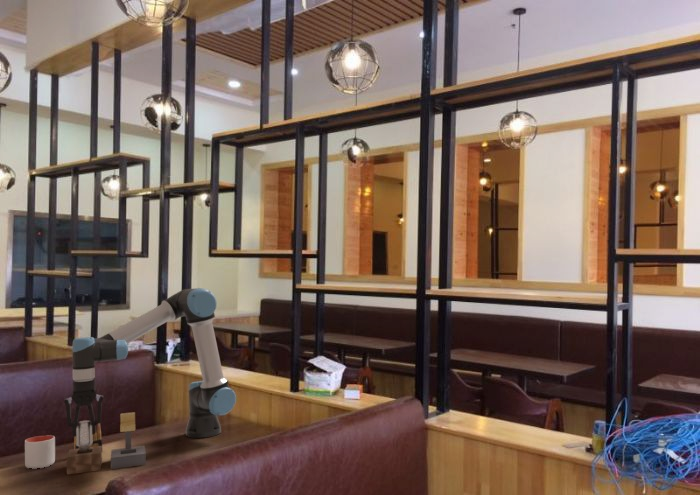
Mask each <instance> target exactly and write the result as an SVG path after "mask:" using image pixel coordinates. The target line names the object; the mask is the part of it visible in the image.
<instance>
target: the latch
mask: <svg viewBox="0 0 700 495" xmlns="http://www.w3.org/2000/svg"><path fill="white" fill-rule="evenodd" d="M119 416H120V417H119V419H120V426H119V427H120V429H119V431H120V433H125V432H126V431H131V432H132V431H133V432H134V431H136V412H133V411H132V412H125V413H120V415H119Z"/></svg>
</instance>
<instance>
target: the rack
mask: <svg viewBox="0 0 700 495" xmlns="http://www.w3.org/2000/svg"><path fill="white" fill-rule="evenodd" d="M102 453H103V445H102V446H95V447H91V452H90V453H81V454H79V448H78V449H74V448H71V449H69V451H68V453H67V454H66V475H75V474H80V473H87V472H88V473H89V472H95V471H97V472H99V471H101V470H102V469H101V467H102V462H103V458H102V457H103V456H102Z"/></svg>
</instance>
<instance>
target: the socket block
mask: <svg viewBox="0 0 700 495" xmlns="http://www.w3.org/2000/svg"><path fill="white" fill-rule="evenodd" d="M124 434H125V436H124V440H125V443H124V444H125V445H124V446H125V447H123V448H114V449H111V450H110V470H116V469H123V468H129V467H136V466H137V467H140V466H145V465H146V464H147V463H146V461H147V457H146V454H147V453H146V446H145V445H139V446H132V431H126V432H124Z"/></svg>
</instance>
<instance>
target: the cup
mask: <svg viewBox="0 0 700 495" xmlns="http://www.w3.org/2000/svg"><path fill="white" fill-rule="evenodd" d="M55 461H56V437H55V435H51V434H50V435H48V434H47V435H38V436H33V437H29V438H26V439H25V440H24V465H25V466H24V467H25V468H26V469H29V468H32V469H31V470H37V468H40V469H45V468H48V467H51V466H52V465H54V463H55ZM50 465H51V466H50ZM44 467H45V468H44Z"/></svg>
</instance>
